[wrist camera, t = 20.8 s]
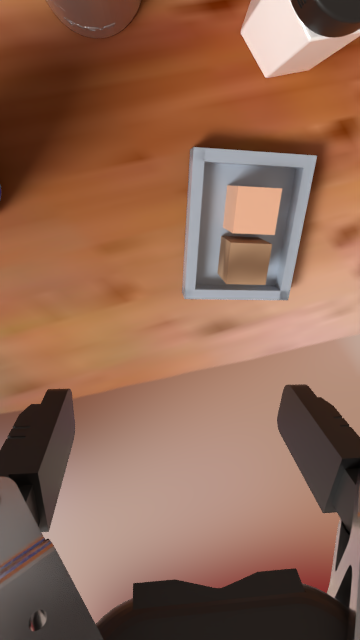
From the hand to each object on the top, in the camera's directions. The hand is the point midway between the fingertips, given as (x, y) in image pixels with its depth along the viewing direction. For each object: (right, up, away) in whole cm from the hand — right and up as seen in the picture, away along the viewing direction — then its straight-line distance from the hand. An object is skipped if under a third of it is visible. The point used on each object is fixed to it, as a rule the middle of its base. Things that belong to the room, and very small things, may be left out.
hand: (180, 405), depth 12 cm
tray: (+7, +14, +25) cm, 30 cm away
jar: (+10, +32, +18) cm, 38 cm away
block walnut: (+7, +11, +26) cm, 29 cm away
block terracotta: (+7, +16, +24) cm, 30 cm away
